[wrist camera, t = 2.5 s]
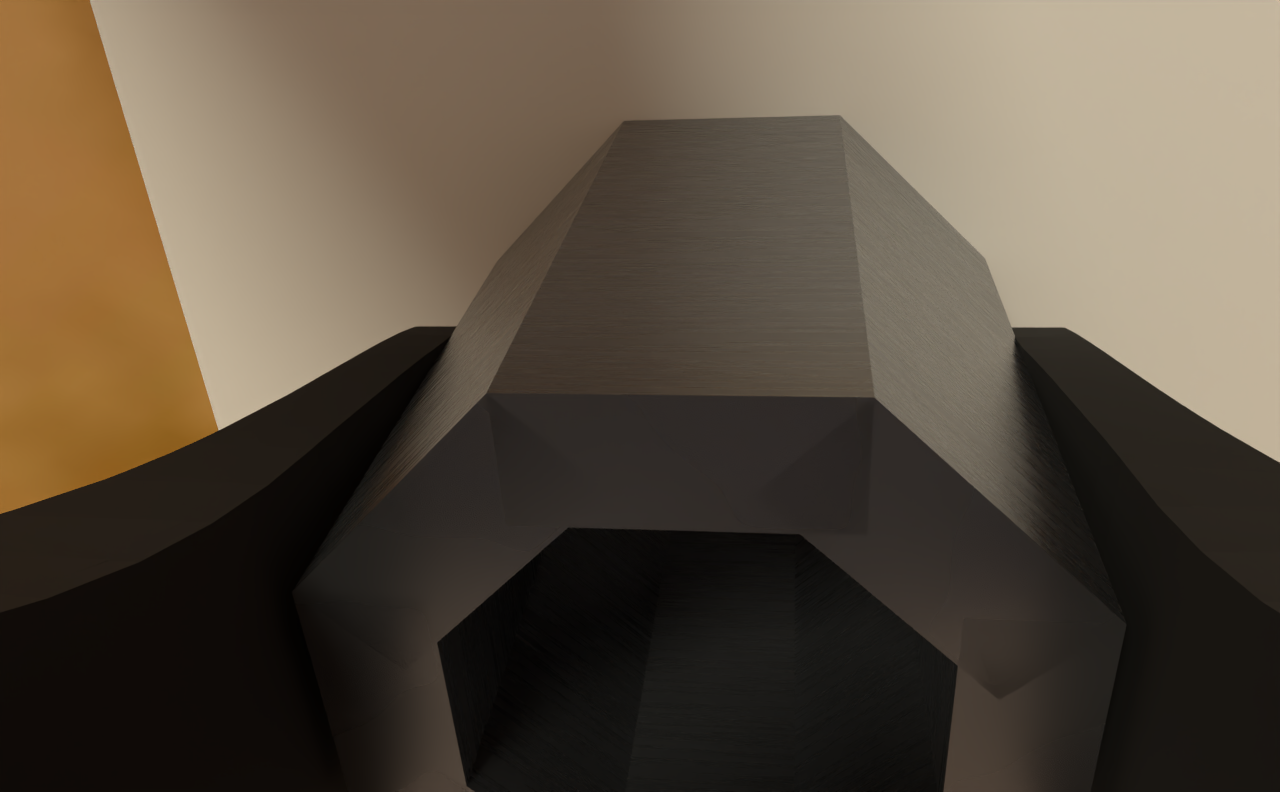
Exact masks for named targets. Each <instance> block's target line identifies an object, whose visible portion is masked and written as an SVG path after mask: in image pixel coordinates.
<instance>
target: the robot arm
mask: <svg viewBox="0 0 1280 792" xmlns="http://www.w3.org/2000/svg"><path fill="white" fill-rule="evenodd" d="M456 327H457V326H415V327H413V328H410V329H407V330H405V331H402V332H400V333H398V334H396V335H394V336H392V337H390V338H388V339H386V340H384V341H382V342H380V343H378V344H376V345H375V346H373V347H371V348H369V349H367V350H366V351H364V352H362V353H360V354H358V355H357V356H355V357H353V358H351V359H350V360H348V361H346V362H344V363H343V364H341V365H339V366H337V367H336V368H334V369H332V370H330V371H329V372H327V373H325V374H323V375H322V376H320V377H318V378H316V379H315V380H313V381H311V382H309V383H308V384H306V385H304V386H302V387H300V388H299V389H297V390H295V391H293V392H292V393H290V394H288V395H286V396H284V397H282V398H281V399H279V400H277V401H275V402H273V403H271V404H269V405H267V406H265V407H263V408H261V409H259V410H257V411H256V412H254V413H252V414H250V415H248V416H246V417H244V418H242V419H240V420H238V421H236V422H234V423H232V424H231V425H229V426H227V427H225V428H223V429H221V430H219V431H217V432H215V433H213V434H211V435H209V436H207V437H205V438H203V439H200V440H198V441H196V442H194V443H192V444H190V445H187V446H185V447H183V448H181V449H178V450H176V451H174V452H172V453H170V454H167V455H165V456H162V457H160V458H157V459H155V460H153V461H150V462H148V463H145V464H143V465H140V466H138V467H136V468H133V469H131V470H128V471H126V472H123V473H121V474H118V475H115V476H113V477H110V478H108V479H105V480H102V481H99V482H96V483H93V484H90V485H87V486H84V487H81V488H78V489H75V490H72V491H69V492H66V493H63V494H60V495H57V496H54V497H51V498H48V499H45V500H42V501H39V502H36V503H33V504H30V505H27V506H24V507H21V508H18V509H15V510H12V511H9V512H6V513H2V514H0V792H349V791H348V788H347V784H346V781H345V777H344V774H343V770H342V767H341V763H340V760H339V756H338V753H337V749H336V746H335V742H334V739H333V735H332V732H331V728H330V725H329V721H328V718H327V714H326V711H325V707H324V704H323V700H322V697H321V693H320V690H319V686H318V683H317V679H316V676H315V672H314V669H313V665H312V662H311V658H310V655H309V651H308V648H307V644H306V641H305V637H304V634H303V630H302V627H301V623H300V620H299V616H298V613H297V609H296V606H295V602H294V599H293V595H292V591H293V589H294V588H295V586H296V585H297V583H298V581H299V580H300V578H301V577H302V575H303V573H304V572H305V570H306V569H307V567H308V565H309V564H310V562H311V560H312V559H313V557H314V556H315V554H316V552H317V551H318V549H319V548H320V546H321V544H322V543H323V541H324V539H325V538H326V536H327V535H328V533H329V531H330V530H331V528H332V527H333V525H334V523H335V522H336V520H337V519H338V517H339V515H340V514H341V512H342V510H343V509H344V507H345V506H346V504H347V502H348V501H349V499H350V498H351V496H352V494H353V493H354V491H355V489H356V488H357V486H358V485H359V483H360V481H361V480H362V478H363V477H364V475H365V473H366V472H367V470H368V469H369V467H370V465H371V464H372V462H373V460H374V459H375V457H376V456H377V454H378V452H379V451H380V449H381V448H382V446H383V444H384V443H385V441H386V440H387V438H388V436H389V435H390V433H391V431H392V430H393V428H394V427H395V425H396V423H397V422H398V420H399V419H400V417H401V415H402V414H403V412H404V410H405V409H406V407H407V406H408V404H409V402H410V401H411V399H412V398H413V396H414V394H415V393H416V391H417V390H418V388H419V386H420V385H421V383H422V381H423V380H424V378H425V377H426V375H427V373H428V372H429V370H430V369H431V367H432V365H433V364H434V362H435V361H436V359H437V358H438V356H439V355H440V353H441V351H442V350H443V348H444V347H445V345H446V343H447V342H448V340H449V338H450V337H451V335H452V333H453V331H454V330H455V328H456ZM1012 330H1013V332H1014V335H1015V340H1016V342H1017V345H1018V348H1019V350H1020V353H1021V355H1022V358H1023V360H1024V362H1025V364H1026V366H1027V368H1028V371H1029V374H1030V376H1031V379H1032V381H1033V384H1034V386H1035V389H1036V392H1037V394H1038V397H1039V399H1040V402H1041V405H1042V407H1043V410H1044V412H1045V415H1046V417H1047V420H1048V423H1049V425H1050V428H1051V430H1052V433H1053V436H1054V438H1055V441H1056V443H1057V446H1058V448H1059V451H1060V454H1061V456H1062V459H1063V461H1064V464H1065V467H1066V469H1067V472H1068V474H1069V477H1070V480H1071V482H1072V485H1073V487H1074V490H1075V492H1076V495H1077V498H1078V500H1079V503H1080V505H1081V508H1082V511H1083V513H1084V516H1085V518H1086V521H1087V523H1088V526H1089V529H1090V531H1091V534H1092V536H1093V539H1094V542H1095V544H1096V547H1097V549H1098V552H1099V555H1100V557H1101V560H1102V562H1103V565H1104V567H1105V570H1106V573H1107V575H1108V578H1109V580H1110V583H1111V586H1112V588H1113V591H1114V593H1115V596H1116V598H1117V601H1118V604H1119V606H1120V609H1121V611H1122V614H1123V617H1124V619H1125V622H1126V624H1127V625H1126V630H1125V634H1124V639H1123V644H1122V648H1121V653H1120V658H1119V662H1118V667H1117V671H1116V676H1115V681H1114V685H1113V690H1112V695H1111V699H1110V704H1109V709H1108V713H1107V718H1106V722H1105V727H1104V732H1103V736H1102V741H1101V746H1100V750H1099V755H1098V760H1097V764H1096V769H1095V773H1094V778H1093V783H1092V787H1091V792H1280V462H1278V461H1276V460H1274V459H1272V458H1271V457H1269V456H1267V455H1265V454H1264V453H1262V452H1260V451H1258V450H1257V449H1255V448H1253V447H1251V446H1250V445H1248V444H1246V443H1244V442H1243V441H1241V440H1239V439H1237V438H1236V437H1234V436H1232V435H1231V434H1229V433H1227V432H1225V431H1224V430H1222V429H1220V428H1219V427H1217V426H1215V425H1214V424H1212V423H1211V422H1209V421H1207V420H1206V419H1204V418H1202V417H1201V416H1199V415H1198V414H1196V413H1194V412H1193V411H1191V410H1190V409H1188V408H1187V407H1185V406H1184V405H1182V404H1180V403H1179V402H1177V401H1176V400H1174V399H1173V398H1171V397H1170V396H1168V395H1167V394H1165V393H1164V392H1162V391H1161V390H1159V389H1158V388H1156V387H1155V386H1153V385H1152V384H1150V383H1149V382H1147V381H1146V380H1144V379H1143V378H1142V377H1140V376H1139V375H1137V374H1136V373H1134V372H1133V371H1131V370H1130V369H1128V368H1127V367H1126V366H1124V365H1123V364H1121V363H1120V362H1118V361H1117V360H1115V359H1114V358H1113V357H1111V356H1110V355H1108V354H1107V353H1105V352H1104V351H1102V350H1101V349H1099V348H1098V347H1096V346H1095V345H1093V344H1092V343H1090V342H1089V341H1087V340H1086V339H1084V338H1083V337H1081V336H1079V335H1078V334H1076V333H1074V332H1072V331H1071V330H1069V329H1067V328H1065V327H1012Z"/></svg>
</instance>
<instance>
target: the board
mask: <svg viewBox="0 0 1280 792" xmlns="http://www.w3.org/2000/svg"><path fill="white" fill-rule="evenodd" d="M90 3H91V6H92V9H93V13H94V16H95V19H96V23H97V26H98V29H99V33H100V36H101V39H102V43H103V46H104V49H105V53H106V56H107V59H108V63H109V66H110V69H111V73H112V76H113V79H114V83H115V86H116V89H117V93H118V96H119V99H120V103H121V106H122V109H123V113H124V116H125V119H126V123H127V126H128V129H129V133H130V136H131V139H132V143H133V146H134V149H135V153H136V156H137V159H138V163H139V166H140V169H141V173H142V176H143V179H144V183H145V186H146V189H147V193H148V196H149V199H150V203H151V206H152V209H153V213H154V216H155V219H156V223H157V226H158V229H159V233H160V236H161V239H162V243H163V246H164V249H165V253H166V256H167V259H168V263H169V266H170V269H171V273H172V276H173V279H174V283H175V286H176V289H177V293H178V296H179V299H180V303H181V306H182V309H183V313H184V316H185V319H186V323H187V326H188V329H189V333H190V336H191V339H192V343H193V346H194V349H195V353H196V356H197V359H198V363H199V366H200V369H201V373H202V376H203V379H204V383H205V386H206V389H207V393H208V396H209V399H210V403H211V406H212V409H213V413H214V416H215V419H216V423H217V426H218V429H219V430H221V429H223V428H225V427H227V426H229V425H231V424H232V423H234V422H236V421H238V420H240V419H242V418H244V417H246V416H248V415H250V414H252V413H254V412H256V411H257V410H259V409H261V408H263V407H265V406H267V405H269V404H271V403H273V402H275V401H277V400H279V399H281V398H282V397H284V396H286V395H288V394H290V393H292V392H293V391H295V390H297V389H299V388H300V387H302V386H304V385H306V384H308V383H309V382H311V381H313V380H315V379H316V378H318V377H320V376H322V375H323V374H325V373H327V372H329V371H330V370H332V369H334V368H336V367H337V366H339V365H341V364H343V363H344V362H346V361H348V360H350V359H351V358H353V357H355V356H357V355H358V354H360V353H362V352H364V351H366V350H367V349H369V348H371V347H373V346H375V345H376V344H378V343H380V342H382V341H384V340H386V339H388V338H390V337H392V336H394V335H396V334H398V333H400V332H402V331H405V330H407V329H410V328H413V327H415V326H457V325H458V323H459V322H460V320H461V319H462V317H463V315H464V314H465V312H466V311H467V309H468V307H469V306H470V304H471V302H472V301H473V299H474V298H475V296H476V294H477V293H478V291H479V290H480V288H481V286H482V285H483V283H484V282H485V280H486V278H487V277H488V275H489V273H490V272H491V270H492V269H493V267H494V265H495V264H496V262H497V261H498V260H499V259H500V258H501V256H502V255H503V254H504V253H505V252H506V251H507V250H508V249H509V248H510V246H511V245H512V244H513V243H514V242H515V241H516V240H517V239H518V238H519V237H520V235H521V234H522V233H523V232H524V231H525V230H526V229H527V228H528V227H529V225H530V224H531V223H532V222H533V221H534V220H535V219H536V218H537V217H538V215H539V214H540V213H541V212H542V211H543V210H544V209H545V208H546V207H547V205H548V204H549V203H550V202H551V201H552V200H553V199H554V198H555V197H556V195H557V194H558V193H559V192H560V191H561V190H562V189H563V188H564V187H565V186H566V184H567V183H568V182H569V181H570V180H571V179H572V178H573V177H574V176H575V174H576V173H577V172H578V171H579V170H580V169H581V168H582V167H583V166H584V164H585V163H586V162H587V161H588V160H589V159H590V158H591V157H592V156H593V154H594V153H595V152H596V151H597V150H598V149H599V148H600V147H601V146H602V144H603V143H604V142H605V141H606V140H607V139H608V138H609V137H610V136H611V135H612V133H613V132H614V131H615V130H616V129H617V128H618V127H619V126H620V125H621V123H622V122H623V121H632V120H671V119H710V118H749V117H788V116H827V115H840V116H841V117H842V118H843V119H844V120H845V121H846V122H847V123H848V124H849V125H850V126H851V127H852V128H853V129H854V130H855V131H856V132H857V133H859V134H860V135H861V136H862V137H863V138H864V139H865V140H866V141H867V142H868V143H869V144H870V145H871V146H872V147H873V148H874V149H875V150H876V151H877V152H878V153H879V154H880V155H881V156H882V157H883V158H884V159H885V160H886V161H887V162H888V163H889V164H890V165H891V166H892V167H893V168H894V169H895V170H896V171H897V172H898V173H899V174H900V175H901V176H902V177H903V178H904V179H905V180H906V181H907V182H908V183H909V184H910V185H911V186H912V187H913V188H914V189H915V190H916V191H917V192H918V193H919V194H920V195H921V196H922V197H923V198H924V199H925V200H926V201H927V202H928V203H929V204H931V205H932V206H933V207H934V208H935V209H936V210H937V211H938V212H939V213H940V214H941V215H942V216H943V217H944V218H945V219H946V220H947V221H948V222H949V223H950V224H951V225H952V226H953V227H954V228H955V229H956V230H957V231H958V232H959V233H960V234H961V235H962V236H963V237H964V238H965V239H966V240H967V241H968V242H969V243H970V244H971V245H972V246H973V247H974V248H975V249H976V250H977V251H978V252H979V253H980V254H981V255H982V256H983V257H984V258H985V260H986V262H987V265H988V267H989V270H990V273H991V275H992V278H993V280H994V283H995V286H996V288H997V291H998V293H999V296H1000V299H1001V301H1002V304H1003V306H1004V309H1005V311H1006V314H1007V317H1008V319H1009V322H1010V324H1011V327H1065V328H1067V329H1069V330H1071V331H1072V332H1074V333H1076V334H1078V335H1079V336H1081V337H1083V338H1084V339H1086V340H1087V341H1089V342H1090V343H1092V344H1093V345H1095V346H1096V347H1098V348H1099V349H1101V350H1102V351H1104V352H1105V353H1107V354H1108V355H1110V356H1111V357H1113V358H1114V359H1115V360H1117V361H1118V362H1120V363H1121V364H1123V365H1124V366H1126V367H1127V368H1128V369H1130V370H1131V371H1133V372H1134V373H1136V374H1137V375H1139V376H1140V377H1142V378H1143V379H1144V380H1146V381H1147V382H1149V383H1150V384H1152V385H1153V386H1155V387H1156V388H1158V389H1159V390H1161V391H1162V392H1164V393H1165V394H1167V395H1168V396H1170V397H1171V398H1173V399H1174V400H1176V401H1177V402H1179V403H1180V404H1182V405H1184V406H1185V407H1187V408H1188V409H1190V410H1191V411H1193V412H1194V413H1196V414H1198V415H1199V416H1201V417H1202V418H1204V419H1206V420H1207V421H1209V422H1211V423H1212V424H1214V425H1215V426H1217V427H1219V428H1220V429H1222V430H1224V431H1225V432H1227V433H1229V434H1231V435H1232V436H1234V437H1236V438H1237V439H1239V440H1241V441H1243V442H1244V443H1246V444H1248V445H1250V446H1251V447H1253V448H1255V449H1257V450H1258V451H1260V452H1262V453H1264V454H1265V455H1267V456H1269V457H1271V458H1272V459H1274V460H1276V461H1278V462H1280V0H90Z"/></svg>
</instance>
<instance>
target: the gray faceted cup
mask: <svg viewBox="0 0 1280 792" xmlns="http://www.w3.org/2000/svg"><path fill="white" fill-rule="evenodd" d="M292 595H293V599H294V602H295V606H296V609H297V613H298V616H299V620H300V623H301V627H302V630H303V634H304V637H305V641H306V644H307V648H308V651H309V655H310V658H311V662H312V665H313V669H314V672H315V676H316V679H317V683H318V686H319V690H320V693H321V697H322V700H323V704H324V707H325V711H326V714H327V718H328V721H329V725H330V728H331V732H332V735H333V739H334V742H335V746H336V749H337V753H338V756H339V760H340V763H341V767H342V770H343V774H344V777H345V781H346V784H347V788H348V791H349V792H1091V787H1092V783H1093V778H1094V773H1095V769H1096V764H1097V760H1098V755H1099V750H1100V746H1101V741H1102V736H1103V732H1104V727H1105V722H1106V718H1107V713H1108V709H1109V704H1110V699H1111V695H1112V690H1113V685H1114V681H1115V676H1116V671H1117V667H1118V662H1119V658H1120V653H1121V648H1122V644H1123V639H1124V634H1125V630H1126V625H1127V624H1126V622H1125V619H1124V617H1123V614H1122V611H1121V609H1120V606H1119V604H1118V601H1117V598H1116V596H1115V593H1114V591H1113V588H1112V586H1111V583H1110V580H1109V578H1108V575H1107V573H1106V570H1105V567H1104V565H1103V562H1102V560H1101V557H1100V555H1099V552H1098V549H1097V547H1096V544H1095V542H1094V539H1093V536H1092V534H1091V531H1090V529H1089V526H1088V523H1087V521H1086V518H1085V516H1084V513H1083V511H1082V508H1081V505H1080V503H1079V500H1078V498H1077V495H1076V492H1075V490H1074V487H1073V485H1072V482H1071V480H1070V477H1069V474H1068V472H1067V469H1066V467H1065V464H1064V461H1063V459H1062V456H1061V454H1060V451H1059V448H1058V446H1057V443H1056V441H1055V438H1054V436H1053V433H1052V430H1051V428H1050V425H1049V423H1048V420H1047V417H1046V415H1045V412H1044V410H1043V407H1042V405H1041V402H1040V399H1039V397H1038V394H1037V392H1036V389H1035V386H1034V384H1033V381H1032V379H1031V376H1030V374H1029V371H1028V368H1027V366H1026V364H1025V362H1024V360H1023V358H1022V355H1021V353H1020V350H1019V348H1018V345H1017V342H1016V340H1015V335H1014V332H1013V330H1012V327H1011V324H1010V322H1009V319H1008V317H1007V314H1006V311H1005V309H1004V306H1003V304H1002V301H1001V299H1000V296H999V293H998V291H997V288H996V286H995V283H994V280H993V278H992V275H991V273H990V270H989V267H988V265H987V262H986V260H985V258H984V257H983V256H982V255H981V254H980V253H979V252H978V251H977V250H976V249H975V248H974V247H973V246H972V245H971V244H970V243H969V242H968V241H967V240H966V239H965V238H964V237H963V236H962V235H961V234H960V233H959V232H958V231H957V230H956V229H955V228H954V227H953V226H952V225H951V224H950V223H949V222H948V221H947V220H946V219H945V218H944V217H943V216H942V215H941V214H940V213H939V212H938V211H937V210H936V209H935V208H934V207H933V206H932V205H931V204H929V203H928V202H927V201H926V200H925V199H924V198H923V197H922V196H921V195H920V194H919V193H918V192H917V191H916V190H915V189H914V188H913V187H912V186H911V185H910V184H909V183H908V182H907V181H906V180H905V179H904V178H903V177H902V176H901V175H900V174H899V173H898V172H897V171H896V170H895V169H894V168H893V167H892V166H891V165H890V164H889V163H888V162H887V161H886V160H885V159H884V158H883V157H882V156H881V155H880V154H879V153H878V152H877V151H876V150H875V149H874V148H873V147H872V146H871V145H870V144H869V143H868V142H867V141H866V140H865V139H864V138H863V137H862V136H861V135H860V134H859V133H857V132H856V131H855V130H854V129H853V128H852V127H851V126H850V125H849V124H848V123H847V122H846V121H845V120H844V119H843V118H842V117H841V116H840V115H827V116H788V117H749V118H710V119H671V120H632V121H623V122H622V123H621V125H620V126H619V127H618V128H617V129H616V130H615V131H614V132H613V133H612V135H611V136H610V137H609V138H608V139H607V140H606V141H605V142H604V143H603V144H602V146H601V147H600V148H599V149H598V150H597V151H596V152H595V153H594V154H593V156H592V157H591V158H590V159H589V160H588V161H587V162H586V163H585V164H584V166H583V167H582V168H581V169H580V170H579V171H578V172H577V173H576V174H575V176H574V177H573V178H572V179H571V180H570V181H569V182H568V183H567V184H566V186H565V187H564V188H563V189H562V190H561V191H560V192H559V193H558V194H557V195H556V197H555V198H554V199H553V200H552V201H551V202H550V203H549V204H548V205H547V207H546V208H545V209H544V210H543V211H542V212H541V213H540V214H539V215H538V217H537V218H536V219H535V220H534V221H533V222H532V223H531V224H530V225H529V227H528V228H527V229H526V230H525V231H524V232H523V233H522V234H521V235H520V237H519V238H518V239H517V240H516V241H515V242H514V243H513V244H512V245H511V246H510V248H509V249H508V250H507V251H506V252H505V253H504V254H503V255H502V256H501V258H500V259H499V260H498V261H497V262H496V264H495V265H494V267H493V269H492V270H491V272H490V273H489V275H488V277H487V278H486V280H485V282H484V283H483V285H482V286H481V288H480V290H479V291H478V293H477V294H476V296H475V298H474V299H473V301H472V302H471V304H470V306H469V307H468V309H467V311H466V312H465V314H464V315H463V317H462V319H461V320H460V322H459V323H458V325H457V327H456V328H455V330H454V331H453V333H452V335H451V337H450V338H449V340H448V342H447V343H446V345H445V347H444V348H443V350H442V351H441V353H440V355H439V356H438V358H437V359H436V361H435V362H434V364H433V365H432V367H431V369H430V370H429V372H428V373H427V375H426V377H425V378H424V380H423V381H422V383H421V385H420V386H419V388H418V390H417V391H416V393H415V394H414V396H413V398H412V399H411V401H410V402H409V404H408V406H407V407H406V409H405V410H404V412H403V414H402V415H401V417H400V419H399V420H398V422H397V423H396V425H395V427H394V428H393V430H392V431H391V433H390V435H389V436H388V438H387V440H386V441H385V443H384V444H383V446H382V448H381V449H380V451H379V452H378V454H377V456H376V457H375V459H374V460H373V462H372V464H371V465H370V467H369V469H368V470H367V472H366V473H365V475H364V477H363V478H362V480H361V481H360V483H359V485H358V486H357V488H356V489H355V491H354V493H353V494H352V496H351V498H350V499H349V501H348V502H347V504H346V506H345V507H344V509H343V510H342V512H341V514H340V515H339V517H338V519H337V520H336V522H335V523H334V525H333V527H332V528H331V530H330V531H329V533H328V535H327V536H326V538H325V539H324V541H323V543H322V544H321V546H320V548H319V549H318V551H317V552H316V554H315V556H314V557H313V559H312V560H311V562H310V564H309V565H308V567H307V569H306V570H305V572H304V573H303V575H302V577H301V578H300V580H299V581H298V583H297V585H296V586H295V588H294V589H293V591H292Z"/></svg>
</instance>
